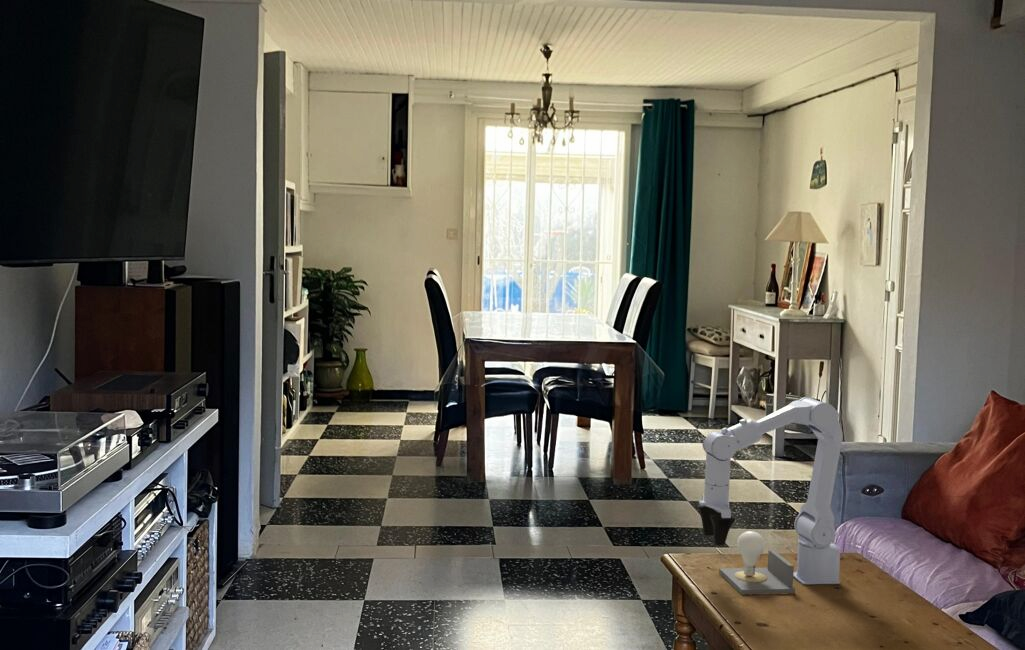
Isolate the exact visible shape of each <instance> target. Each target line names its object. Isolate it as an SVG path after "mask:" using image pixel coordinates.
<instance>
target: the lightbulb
mask: <svg viewBox="0 0 1025 650" xmlns="http://www.w3.org/2000/svg"><path fill="white" fill-rule="evenodd" d="M736 544H737V545H736V546H737V549H738V551H739V553H740V555H741V557H742V563H743V568H744V574H745V575H746V576H748V577H751V576H754V575H755V568H756V565H757V563H758V560H759V558H760V556H761V555H762V553H764V550H765V546H766V545H765V540H764V538H763V536H762V535H761V534H760V533H758V532H757V531H755V530H754V531H753V530H746V531H744V532H742V533H741V534H740V535H739V537H738V538H737V543H736Z"/></svg>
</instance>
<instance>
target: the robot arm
mask: <svg viewBox="0 0 1025 650" xmlns="http://www.w3.org/2000/svg"><path fill="white" fill-rule="evenodd" d="M839 418H840V412H838V410H836V409H835V407H834V406H833V405H832V404H830V403H828V402H824V401H819V400H817V399H815V398H813V397H810V396H805V397H802V398H800V399H797V400H793V401H791V402H790V403H789V404H787V405H786V406H784V407H781V408H780V409H778V410H775V411H773V412H772V413H770V414H768V415H766V416H763V417H762V418H760V419H758V420H756V421H754V419H750V418H748V419H745V418H741V419H740V420H739V423H737V424H735V425H731V426H730V427H723V428H721V431H720V432H719V431H712V432H710V433H708V434H707V436H706V437H705V438H704V441H703V442H702V449H703V451H704V452H705V455H706V456H705V467H704V468H705V469H704V471H705V472H704V473H705V474H704V489H703V490H704V491H703V493H702V494H701V500H699V501H698V504H697V505H696V507H697V510H698V513H699V515H700V519H701V524H702V530H703V534H704V536H713V537H714V539H713V540H714V545H716V546H725V544H726V542H727V538H728V535H729V532H730V529H731V527H732V526H733V524H734V523H735V521H736V517H735V516H733V515H732V509H730V502H729V501H730V500H729V497H730V479H731V458H733V457H734V455H735V454H736V452H738V451H740V450H744V449H745V448H747V447H750V446H752V445H754V444H756V443H759V442H760V441H761V440H762V436H763V435H764V434H766V433H769V432H771V431H774V430H777V429H779V428H783V427H785V426H788V425H790V424H799V425H805V426H807V427H808V428H809V429H810V430H811V432H812V433H813V434H814V435H815V437H816V438H817V443H816V444H817V445H816V450H815V455H814V460H813V467H812V472H811V477H810V481H809V482H810V483H809V489H808V493H807V494H808V495H807V498H806V499H807V500H806V502H804V503H803V504H802V505H801V507H800V510H799V513H798V515H797V516H796V517H795V520H794V525H793V526H794V530H795V532H796V533H797V534H798V539H797V543H798V544H797V561H796V571H794V572H793V578H794V579H795V580H797V581H798V582H800V584H803V585H838V584H839V585H840V584H841V581H840V580H839V579H840V566H841V565H840V564H841V553H840V549H839V547H838V545H837V544H836V543H833V542H834V541H835V538H836V528H835V516H834V514H833V510H832V508H831V503H832V499H833V493H834V488H835V482H836V476H837V471H838V465H839V461H840V460H839V459H840V455H841V454H840V453H841V448H842V443H843V438H844V437H843V435H844V434H843V431H842V427H841V424H840V421H839Z"/></svg>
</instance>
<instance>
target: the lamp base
mask: <svg viewBox="0 0 1025 650" xmlns="http://www.w3.org/2000/svg"><path fill="white" fill-rule="evenodd" d="M767 551H768V553H767V554H768V555H767V567H755V575H754V576H751V577H748V576H746V575H745V574H744V567H737V568H736V567H733V568H730V567H729V568H727V567H726V568H718V574H719V573H720V574H721V575H722V576H723V577H724V579H725V581H726V582H728V584H729V585H731V586H732V588H734V587H735V588H734V589H735V591H737V592H738V593H739V594H740V593H741V594H740V595H741V596H746V595H745V594H750V596H751V595H752V594H760V595H765V594H764V593H775V594H774V595H782V594H781V593H785V594H784V595H787V594H786V593H795V594H796V588H795V587H794V585H793V584H794V577H793V572H795V570H794V568H795V565H794V564H792V563H791V562H790V561H788V560H787V559H786V558H784V556H782V555H781V554H779V553H778V552H777V551H775V550H774V549H768V550H767ZM720 574H719V575H720ZM721 575H720V576H721ZM722 576H721V577H722ZM723 577H722V578H723ZM776 593H777V594H776Z"/></svg>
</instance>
